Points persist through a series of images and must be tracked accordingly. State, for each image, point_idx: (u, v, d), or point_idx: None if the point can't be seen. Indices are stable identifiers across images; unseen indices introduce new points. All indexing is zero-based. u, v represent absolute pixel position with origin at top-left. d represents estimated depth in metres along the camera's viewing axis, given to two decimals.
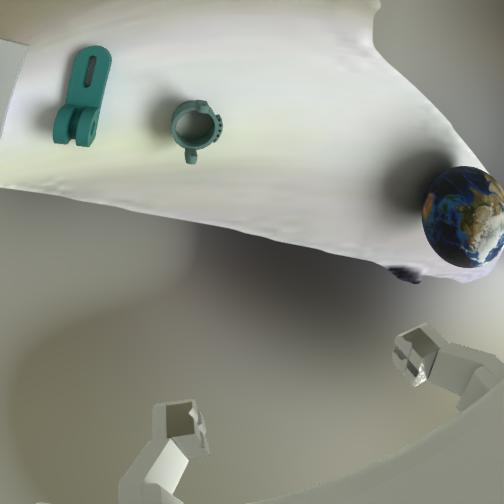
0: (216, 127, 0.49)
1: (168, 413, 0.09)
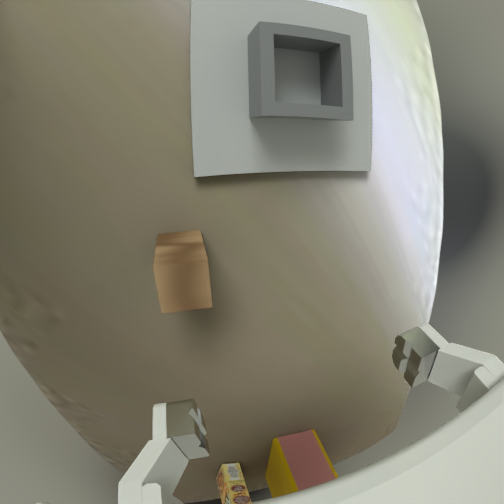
0: None
1: (168, 413, 0.09)
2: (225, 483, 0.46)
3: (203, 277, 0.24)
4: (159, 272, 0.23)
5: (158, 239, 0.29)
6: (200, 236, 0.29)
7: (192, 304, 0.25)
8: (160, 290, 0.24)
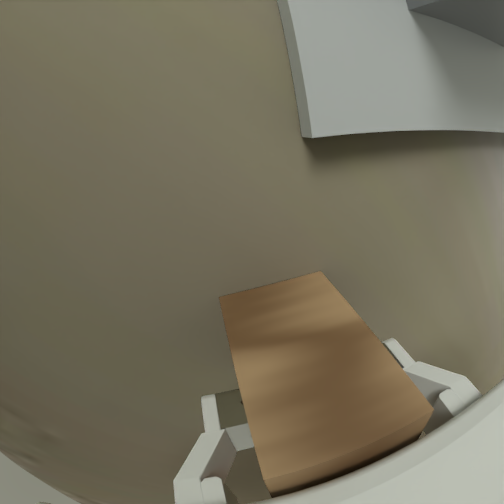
0: None
1: (218, 404, 0.09)
2: None
3: (405, 443, 0.06)
4: (287, 481, 0.05)
5: (227, 319, 0.11)
6: (339, 296, 0.11)
7: None
8: None
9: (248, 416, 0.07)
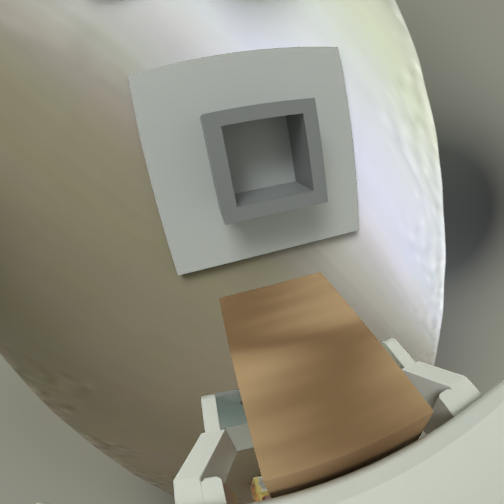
0: None
1: (218, 404, 0.09)
2: (257, 494, 0.50)
3: (404, 445, 0.06)
4: (286, 482, 0.05)
5: (227, 320, 0.11)
6: (338, 298, 0.11)
7: None
8: None
9: (248, 417, 0.07)
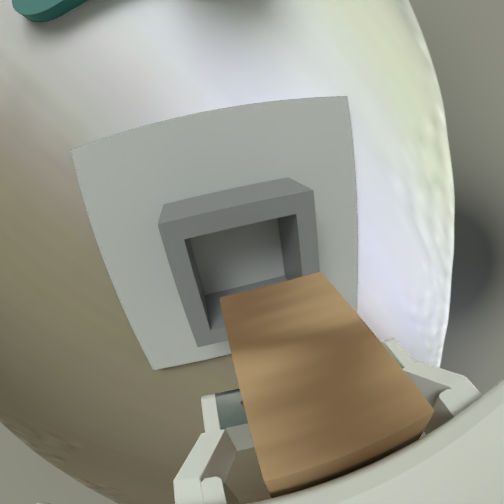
0: None
1: (219, 404, 0.09)
2: None
3: (405, 444, 0.06)
4: (287, 482, 0.05)
5: (227, 319, 0.11)
6: (339, 297, 0.11)
7: None
8: None
9: (248, 417, 0.07)
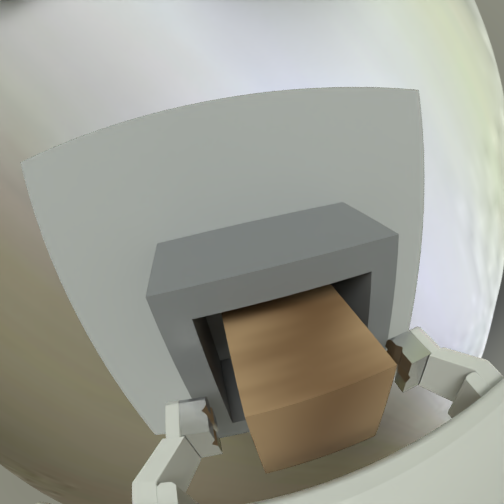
0: None
1: (181, 411, 0.09)
2: None
3: (375, 400, 0.08)
4: (265, 423, 0.07)
5: None
6: None
7: (337, 446, 0.09)
8: (265, 448, 0.08)
9: (234, 366, 0.09)
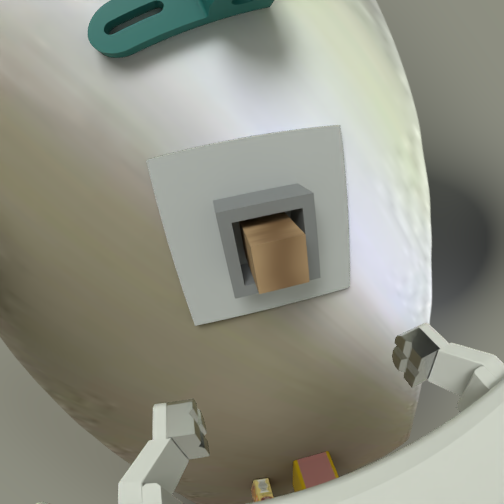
0: None
1: (168, 413, 0.09)
2: (256, 495, 0.56)
3: (300, 252, 0.24)
4: (257, 251, 0.24)
5: None
6: (284, 213, 0.29)
7: (290, 281, 0.25)
8: (258, 270, 0.24)
9: (247, 237, 0.25)
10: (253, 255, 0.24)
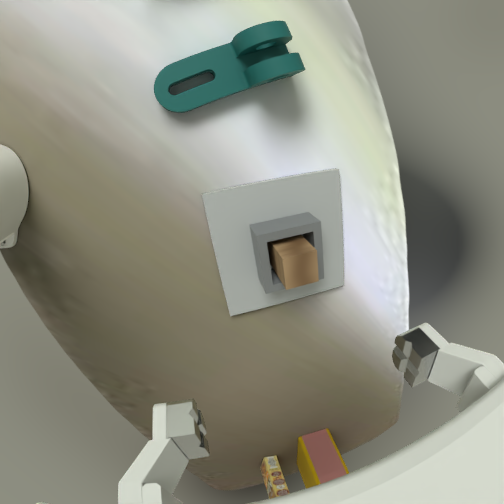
0: None
1: (168, 413, 0.09)
2: (267, 471, 0.68)
3: (313, 261, 0.37)
4: (286, 262, 0.36)
5: None
6: None
7: (306, 280, 0.38)
8: (286, 274, 0.37)
9: (278, 252, 0.38)
10: (283, 264, 0.36)
